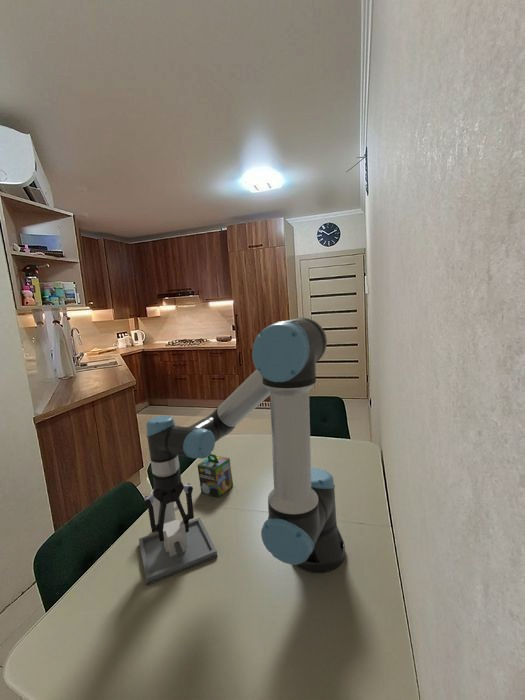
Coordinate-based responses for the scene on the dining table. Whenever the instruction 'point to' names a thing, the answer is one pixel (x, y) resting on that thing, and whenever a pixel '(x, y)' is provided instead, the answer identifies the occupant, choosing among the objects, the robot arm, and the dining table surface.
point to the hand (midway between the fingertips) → (175, 545)
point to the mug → (168, 512)
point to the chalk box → (215, 475)
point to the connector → (175, 538)
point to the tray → (164, 565)
